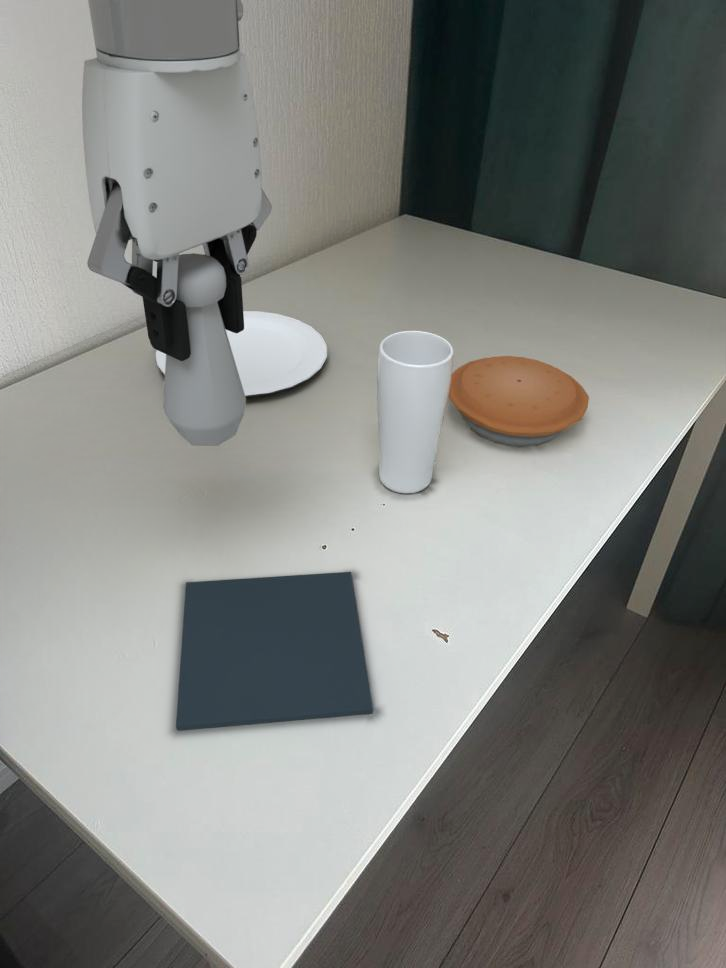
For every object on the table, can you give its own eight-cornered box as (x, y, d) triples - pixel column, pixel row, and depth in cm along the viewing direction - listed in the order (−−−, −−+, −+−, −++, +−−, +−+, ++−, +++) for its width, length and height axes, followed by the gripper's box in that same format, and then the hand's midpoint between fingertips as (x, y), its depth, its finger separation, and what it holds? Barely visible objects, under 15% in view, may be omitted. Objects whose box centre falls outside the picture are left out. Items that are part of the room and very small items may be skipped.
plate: (180, 421, 84) (178, 408, 83) (140, 336, 99) (138, 324, 98) (354, 386, 92) (354, 373, 90) (293, 311, 106) (293, 299, 105)
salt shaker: (243, 455, 55) (230, 282, 46) (161, 454, 54) (133, 279, 46) (251, 410, 59) (240, 244, 51) (175, 408, 59) (153, 242, 51)
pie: (463, 371, 95) (468, 335, 92) (590, 400, 91) (600, 363, 88) (426, 438, 84) (430, 399, 81) (569, 474, 80) (579, 434, 77)
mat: (176, 730, 55) (175, 725, 54) (186, 587, 65) (185, 582, 65) (372, 713, 56) (372, 708, 56) (350, 576, 67) (350, 571, 67)
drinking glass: (357, 479, 78) (362, 346, 68) (401, 451, 82) (411, 322, 72) (408, 510, 74) (421, 375, 65) (451, 479, 78) (470, 348, 69)
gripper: (227, 5, 48) (244, 284, 59) (-21, 35, 37) (57, 369, 48) (322, 21, 44) (320, 313, 56) (79, 59, 34) (138, 412, 45)
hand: (198, 336), depth 52 cm, fingers closed on salt shaker, 4 cm apart
